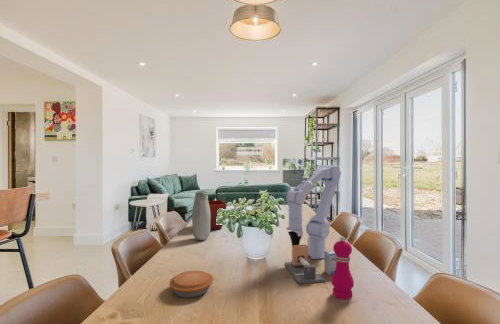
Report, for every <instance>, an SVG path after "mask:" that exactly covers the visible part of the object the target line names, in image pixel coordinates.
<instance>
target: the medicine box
mask: <svg viewBox="0 0 500 324" xmlns="http://www.w3.org/2000/svg"><path fill="white" fill-rule="evenodd" d="M323 260H324V263H323V264H324V265H323V271H324V272H325V273H326V274H327V275H329V276H331V277H332V276H333V274H334V272H335V269H336V260H335V252H334V250H333V249H332V250H325V251H324V258H323Z"/></svg>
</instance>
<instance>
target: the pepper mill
mask: <svg viewBox="0 0 500 324" xmlns="http://www.w3.org/2000/svg"><path fill="white" fill-rule="evenodd" d="M332 250H334V252H335V260H336V269H335V272H334V274H333V275H331V285H332V286H333V289H332V294H333V296H334V297H335V298H337V299H340V300H350V299H352V297H353V290H352V289H353V288H354V286H355V285H354V284H355V283H354V278H353V276H352V273H351V270H350V262H351V256H350V255H352V252H353V248H352V245H351V244H350V243H349V242H348V241H346V238H345V236H340V237H339V240H338V241H335V243H334V244H333V249H332Z"/></svg>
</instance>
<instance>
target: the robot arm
mask: <svg viewBox="0 0 500 324" xmlns="http://www.w3.org/2000/svg"><path fill="white" fill-rule="evenodd" d="M341 172H342V171H341V169H340V167H339V165H336V164H334V165H332V164H331V165H327V164H326V165H325V164H320V165H318V166H317V167H316V169H315V172H314V173H313V174H312V175H311V176H310V177H309V178H308V179H307V180H306V179H305V180H302V181H300V183H299V184H298V185H297V186H296V187H294V189H293V190H292V189H290V190H289V191H288V192H287V193H286V196H285V200H286V202H287V206H288V226H287V227H285V228H286V230H287V231H288V232H287V234H288V236H289V238H290V243H291V246H292V245H300V243H301V240H302V238H303V236H304V231H303V205H302V204H304V203H305V200H306V198H307V196H308V195H309V194H310V193H311V192H312V191H313V190H314V186H315V185H316V184H317V183H318V182H320V181H321V183H322V184H324V188H323V190H322V194H321V198H320V201H319V204H318V206H317V209H316V212H315V215H313V216H312V217H310V219H309V221H308V222H307V223H306V225H305V231H306V233H307V235H308V238H307V246H308V257H310V259H312V260H318V259H319V260H321V259H324V251H326V239H327V238H328V237H329V235H330V226H331V224H330V222H329V220H328V219H327V218H328V215H329V212H330V209H331V206H332V203H333V199H334V198H335V197H334V196H335V193H336V190H337V187H338V184H339V182H340V181H339V180H340V177H341V175H342V173H341Z"/></svg>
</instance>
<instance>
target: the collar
mask: <svg viewBox="0 0 500 324" xmlns="http://www.w3.org/2000/svg"><path fill="white" fill-rule="evenodd" d="M298 256H302V257H303V258H304V259H305V260H306V261H307V262H309V255H308V245H307V244H299V245H292V244H291V262H292V264H293V265H294V266H295V265H303V264H302V263H301V262H300V261H299V260H298Z"/></svg>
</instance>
